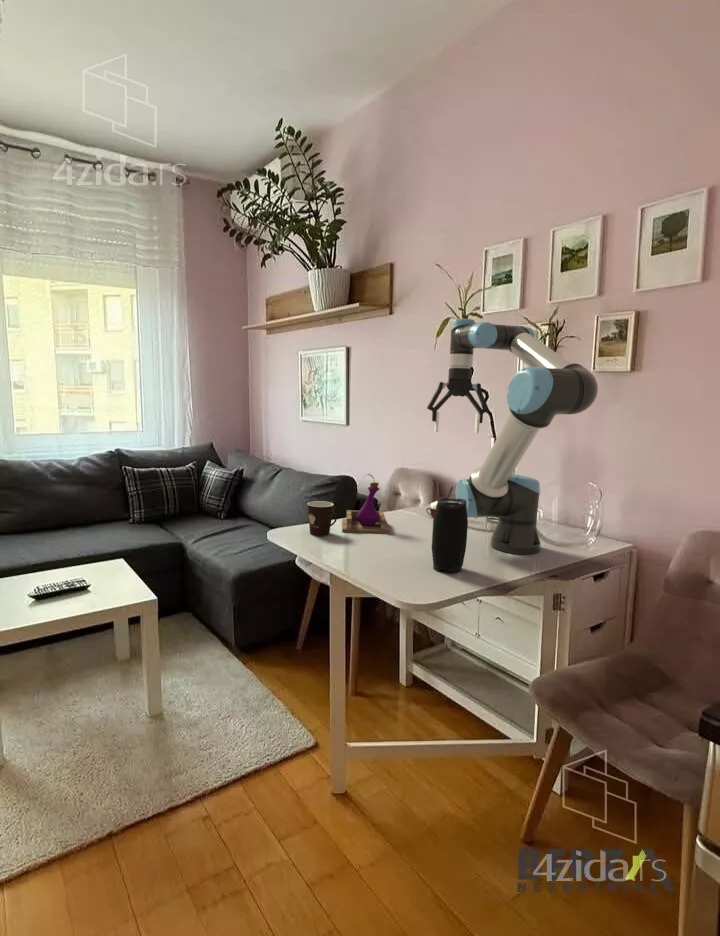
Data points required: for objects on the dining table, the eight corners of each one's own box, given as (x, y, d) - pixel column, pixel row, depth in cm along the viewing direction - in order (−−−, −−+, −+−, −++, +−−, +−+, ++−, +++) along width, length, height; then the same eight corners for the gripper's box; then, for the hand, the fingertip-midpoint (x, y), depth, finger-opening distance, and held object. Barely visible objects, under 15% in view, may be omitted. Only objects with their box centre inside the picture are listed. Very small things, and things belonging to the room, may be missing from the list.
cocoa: (425, 518, 215) (425, 487, 213) (429, 514, 221) (429, 484, 219) (449, 520, 212) (450, 489, 210) (453, 516, 217) (454, 486, 215)
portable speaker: (425, 565, 158) (429, 497, 155) (455, 563, 161) (459, 496, 158) (439, 575, 150) (443, 503, 147) (470, 573, 153) (475, 502, 150)
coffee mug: (304, 530, 189) (304, 501, 188) (328, 529, 192) (329, 500, 190) (312, 540, 178) (312, 509, 177) (338, 539, 181) (339, 508, 179)
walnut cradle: (389, 533, 190) (390, 520, 189) (342, 532, 189) (342, 519, 189) (386, 523, 204) (387, 511, 203) (342, 521, 203) (342, 509, 202)
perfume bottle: (378, 522, 200) (381, 472, 197) (378, 528, 192) (380, 476, 190) (357, 521, 200) (359, 471, 198) (356, 526, 193) (358, 475, 190)
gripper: (495, 369, 189) (490, 432, 193) (421, 366, 188) (417, 430, 191) (501, 369, 182) (496, 434, 185) (424, 365, 181) (420, 432, 184)
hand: (456, 432), depth 188 cm, fingers open, 13 cm apart
